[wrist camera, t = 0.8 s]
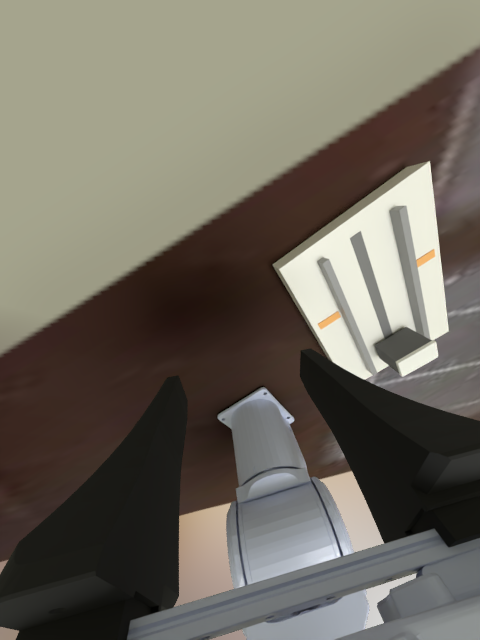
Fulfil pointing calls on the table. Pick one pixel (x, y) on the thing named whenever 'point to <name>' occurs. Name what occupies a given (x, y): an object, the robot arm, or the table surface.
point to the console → (372, 273)
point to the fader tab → (406, 351)
